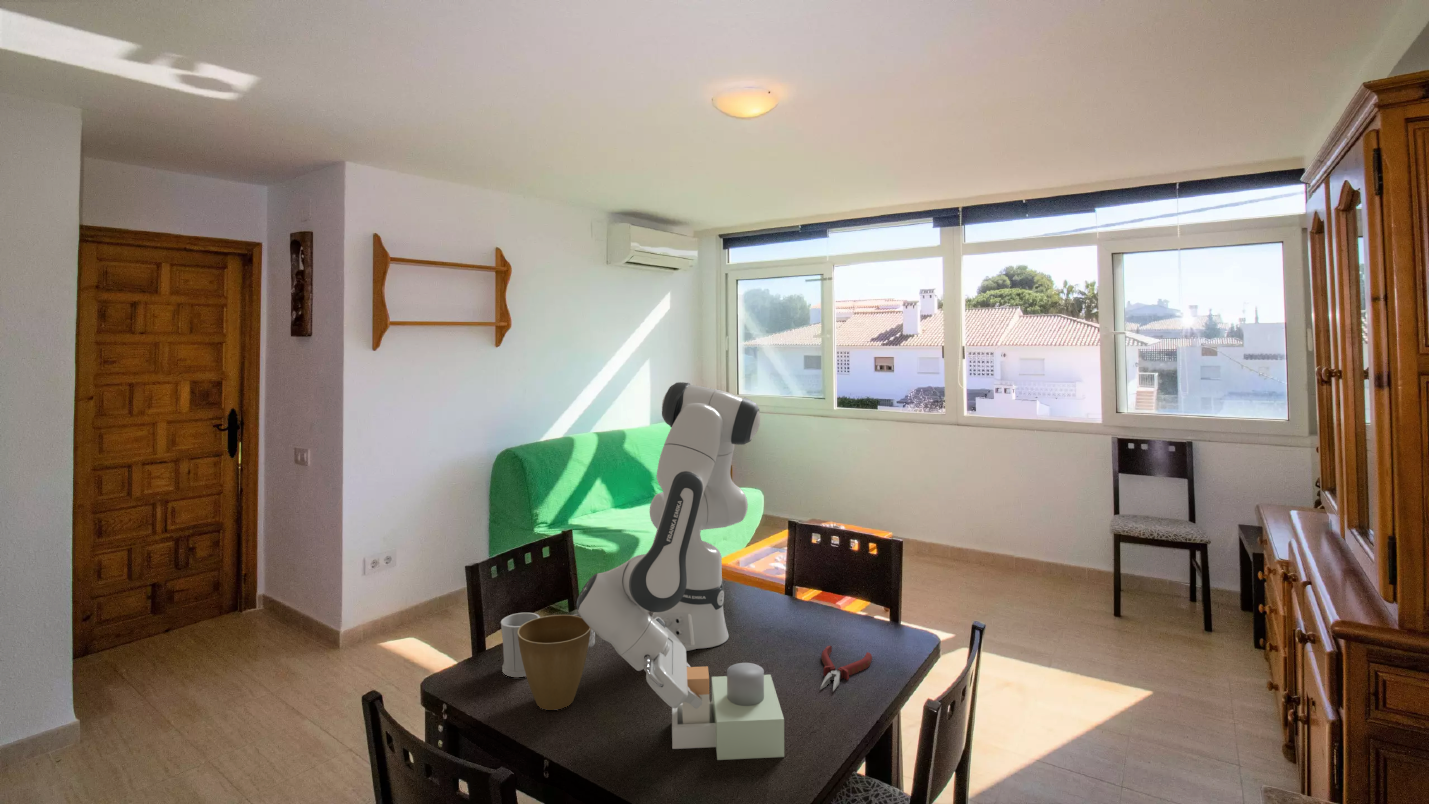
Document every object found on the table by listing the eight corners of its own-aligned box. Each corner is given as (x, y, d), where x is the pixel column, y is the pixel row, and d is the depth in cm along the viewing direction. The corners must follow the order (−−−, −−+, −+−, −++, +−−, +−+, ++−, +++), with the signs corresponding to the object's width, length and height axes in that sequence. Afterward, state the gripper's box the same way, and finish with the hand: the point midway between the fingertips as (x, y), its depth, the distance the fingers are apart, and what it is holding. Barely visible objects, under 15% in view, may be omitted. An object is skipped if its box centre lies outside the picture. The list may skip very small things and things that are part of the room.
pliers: (800, 690, 145) (800, 678, 145) (826, 653, 163) (826, 642, 163) (853, 701, 140) (853, 689, 140) (873, 662, 158) (873, 651, 158)
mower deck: (672, 761, 119) (671, 696, 118) (672, 711, 136) (671, 654, 135) (784, 756, 120) (784, 691, 119) (770, 707, 137) (770, 650, 136)
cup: (555, 667, 156) (554, 616, 155) (529, 684, 148) (527, 631, 147) (520, 658, 161) (518, 610, 160) (492, 675, 152) (491, 623, 152)
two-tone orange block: (683, 742, 125) (682, 679, 124) (682, 727, 130) (681, 667, 129) (709, 741, 125) (709, 678, 125) (708, 726, 130) (707, 666, 129)
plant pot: (525, 728, 130) (522, 648, 129) (515, 693, 144) (512, 620, 143) (600, 711, 136) (598, 634, 135) (584, 679, 150) (582, 609, 149)
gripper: (656, 658, 116) (713, 710, 117) (659, 613, 136) (707, 658, 137) (631, 684, 116) (688, 736, 117) (637, 635, 136) (686, 680, 137)
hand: (699, 693), depth 127 cm, fingers open, 6 cm apart
